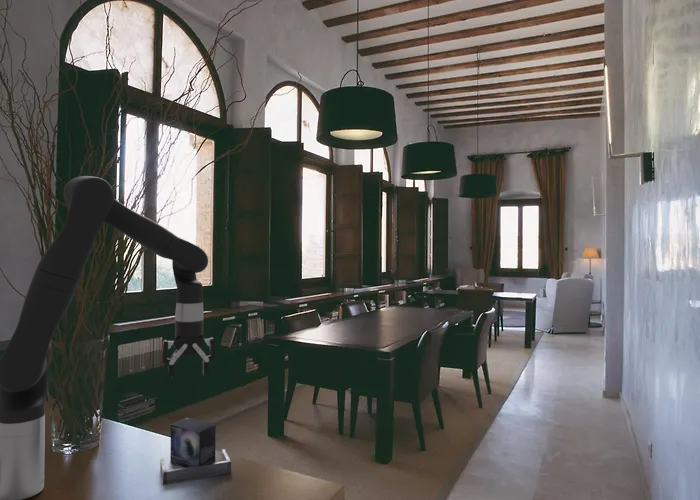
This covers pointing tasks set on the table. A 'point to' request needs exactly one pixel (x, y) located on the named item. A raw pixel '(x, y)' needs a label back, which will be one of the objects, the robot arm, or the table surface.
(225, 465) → the metal bracket
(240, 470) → the table surface
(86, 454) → the table surface
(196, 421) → the small box
